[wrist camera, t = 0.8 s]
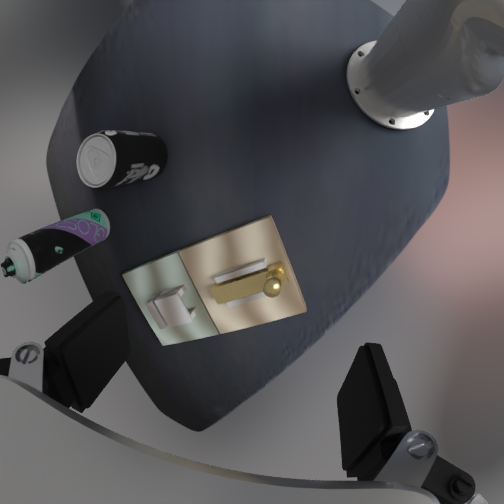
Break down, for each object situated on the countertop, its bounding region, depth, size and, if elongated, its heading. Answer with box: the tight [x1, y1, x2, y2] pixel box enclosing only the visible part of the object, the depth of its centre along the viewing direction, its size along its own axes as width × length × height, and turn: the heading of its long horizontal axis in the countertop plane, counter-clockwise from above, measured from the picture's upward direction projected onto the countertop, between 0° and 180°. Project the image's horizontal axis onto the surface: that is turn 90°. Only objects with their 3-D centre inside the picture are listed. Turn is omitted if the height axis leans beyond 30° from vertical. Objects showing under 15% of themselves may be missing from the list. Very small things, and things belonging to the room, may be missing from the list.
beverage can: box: [77, 130, 167, 189], centre depth 29 cm, size 7×7×12 cm
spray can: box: [1, 209, 110, 284], centre depth 30 cm, size 6×6×20 cm
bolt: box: [210, 261, 289, 304], centre depth 34 cm, size 10×2×5 cm, turn 112°
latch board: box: [122, 215, 306, 346], centre depth 38 cm, size 25×14×5 cm, turn 112°
